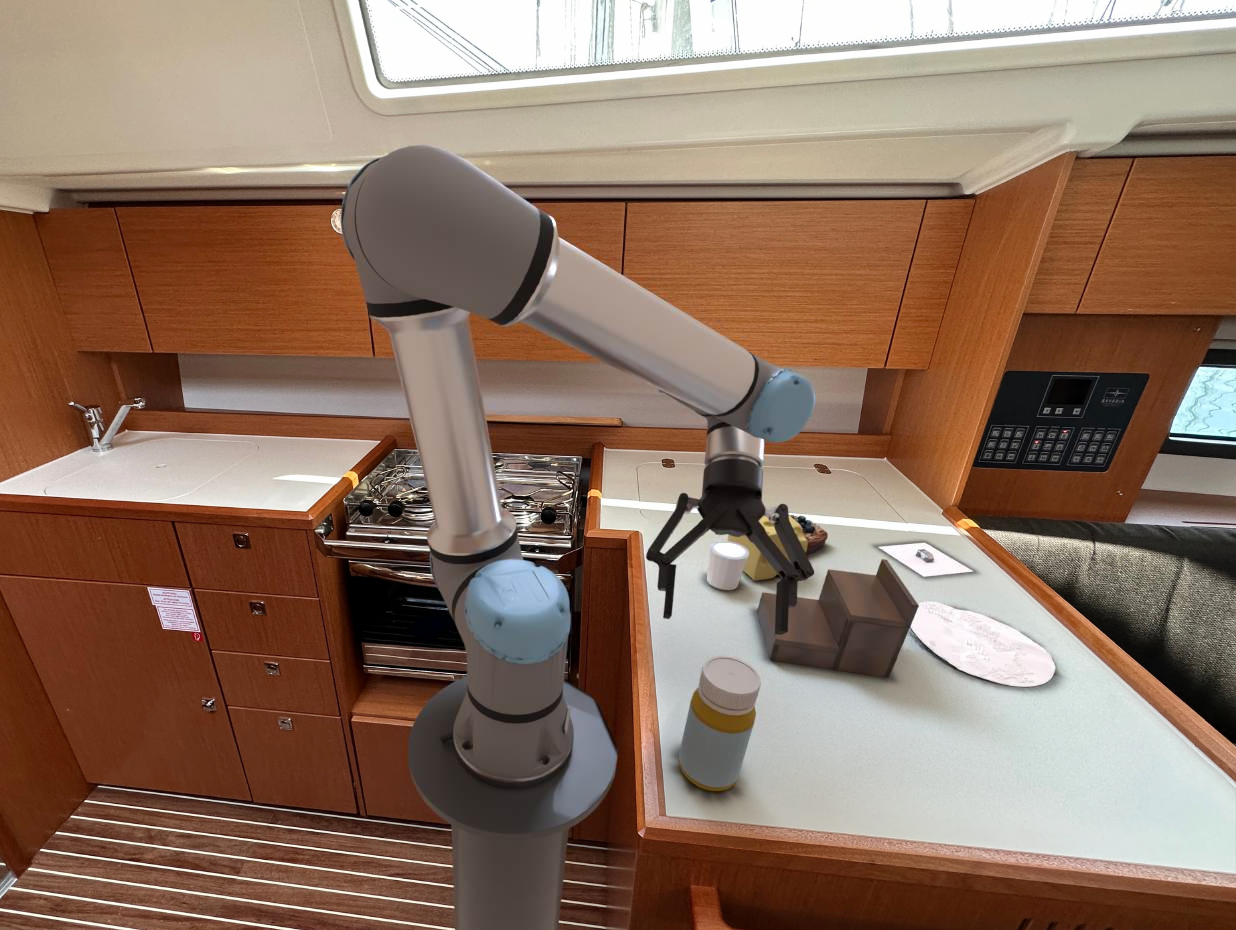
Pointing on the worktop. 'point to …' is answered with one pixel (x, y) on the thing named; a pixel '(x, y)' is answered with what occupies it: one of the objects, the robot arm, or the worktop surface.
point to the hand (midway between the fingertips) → (723, 625)
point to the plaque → (982, 646)
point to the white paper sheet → (925, 559)
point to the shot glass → (726, 564)
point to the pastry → (811, 534)
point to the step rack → (844, 623)
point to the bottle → (719, 723)
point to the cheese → (756, 561)
